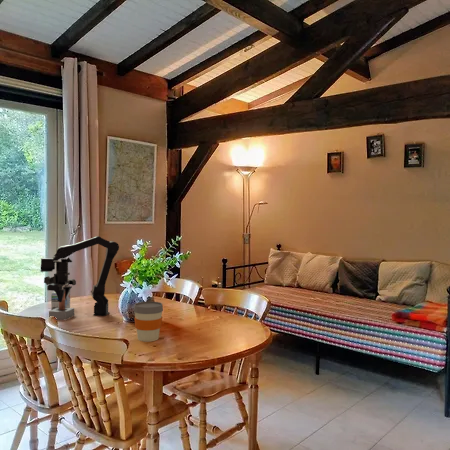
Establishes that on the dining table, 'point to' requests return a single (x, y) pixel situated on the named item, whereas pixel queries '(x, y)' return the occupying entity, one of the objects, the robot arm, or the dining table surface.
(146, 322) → the reusable coffee cup
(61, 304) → the peg
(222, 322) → the dining table surface
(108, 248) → the robot arm
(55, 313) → the hole block
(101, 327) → the dining table surface
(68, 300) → the light bulb box
